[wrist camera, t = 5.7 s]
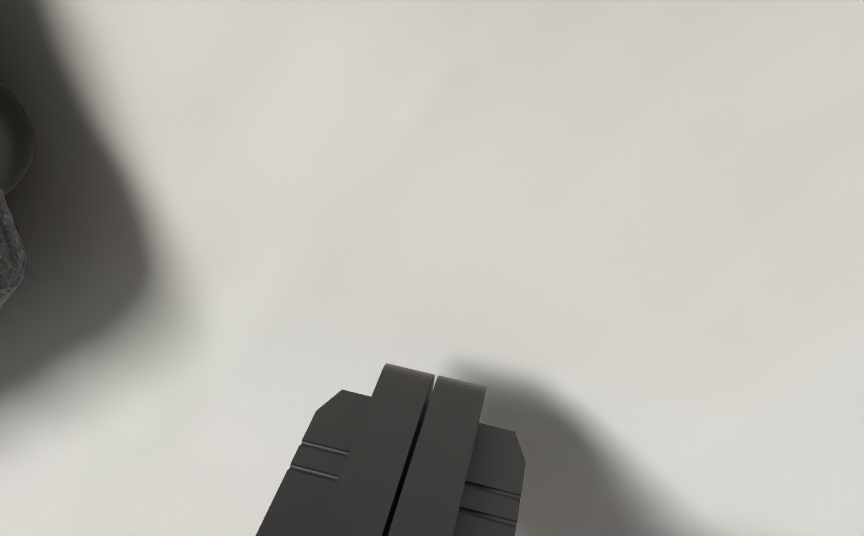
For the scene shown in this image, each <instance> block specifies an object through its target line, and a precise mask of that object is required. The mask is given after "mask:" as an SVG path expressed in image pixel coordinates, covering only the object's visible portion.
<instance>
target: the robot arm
mask: <svg viewBox="0 0 864 536" xmlns="http://www.w3.org/2000/svg"><path fill="white" fill-rule="evenodd" d="M434 378H435V375H433V374H429V373H425V372H421V371H417V370H412V369H408V368H404V367H400V366H396V365H392V364H385V366H384V368H383V370H382V372H381V375H380V377H379V379H378V382H377V384H376V387H375V389H374V392H373V394H372V397H370V396H366V395H362V394H358V393H354V392H350V391H346V390H341V391H340V392H339V393H337V394H336V395H335V396H334V397H333V398H331V399H330V400H329V401H328V402H327V403H325V404H324V405H323V406H322V407H320V408H319V409H318V410H317V411H316V412H315V415H314V417H313V419H312V421H311V423H310V425H309V427H308V429H307V431H306V433H305V435H304V437H303V439H302V444H301V445H299V448H298V450H297V452H296V454H295V456H294V458H293V460H292V462H291V466H290V469H288V470H287V472H286V474H285V476H284V478H283V481H282V483H281V485H280V487H279V489H278V491H277V493H276V495H275V497H274V499H273V501H272V503H271V505H270V507H269V509H268V511H267V513H266V516H265V518H264V520H263V522H262V524H261V526H260V528H259V530H258V532H257V534H256V536H515V531H516V523H517V517H518V510H519V504H520V496H521V490H522V483H523V476H524V469H525V460H524V457H523V454H522V451H521V448H520V446H519V443H518V440H517V437H516V434H515V432H513V431H509V430H505V429H501V428H497V427H493V426H489V425H485V424H481V423H479V419H480V414H481V410H482V406H483V401H484V397H485V392H486V388H487V387H484V386H480V385H476V384H472V383H467V382H463V381H459V380H455V379H451V378H447V377H442V376H438V377H437V380H436V383H435V386H434V389H433V385H434ZM432 391H433V393H432Z"/></svg>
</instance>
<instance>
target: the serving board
mask: <svg viewBox="0 0 864 536" xmlns="http://www.w3.org/2000/svg"><path fill="white" fill-rule="evenodd" d="M35 148H36V146H35V139H34V132H33V128H32V126H31V124H30V121H29V119H28V117H27V114H26V112H25V111H24V109H23V108H22V107H21V105H20V104H19V102H18V101H17V100H16V98H15V97H14V96H13V94H11V93H10V92H9V91H8V90H7V89H6V88H5V87H4V86H2V85H1V84H0V309H1V308H2V306H3V305H4V304H5V302H6V301H7V300H8V298H9V297H10V296H11V295H12V294H13V292H14V291H15V290H16V289H17V288H18V286H19V285H20V284H21V283H22V282H23V280H24V274H25V264H26V255H27V253H26V251H25V248H24V245H23V243H22V240H21V237H20V235H19V232H18V229H17V227H16V224H15V221H14V219H13V216H12V213H11V211H10V208H9V206H8V203H7V200H6V198H5V194H7V193H9V192H11V191H12V190H13V189H14V188H15V187H16V186H17V185H18V184H19V183H20V181H21V180H22V179H23V177H24V176H25V175H26V173H27V172H28V171H29V169H30V167H31V165H32V162H33V157H34V153H35Z"/></svg>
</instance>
